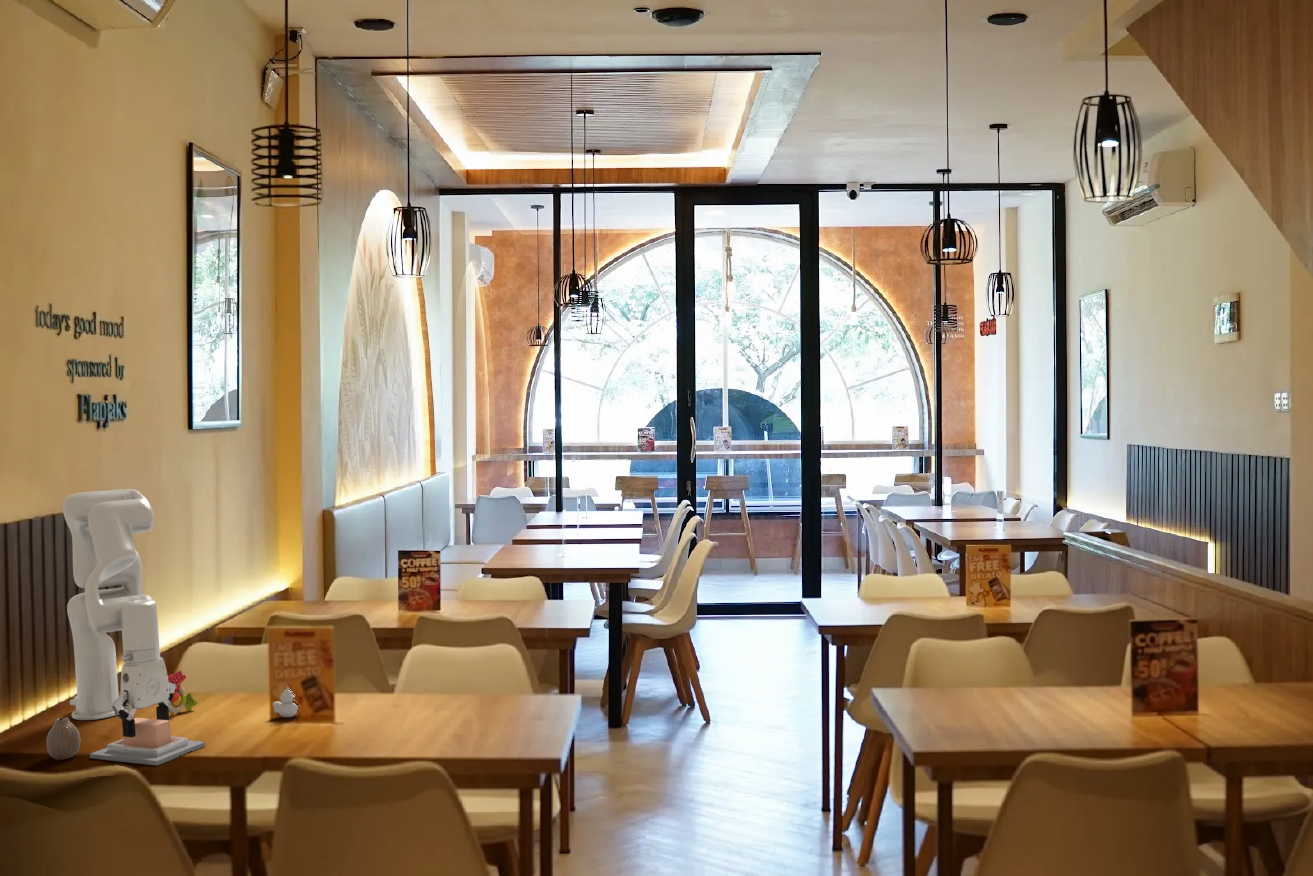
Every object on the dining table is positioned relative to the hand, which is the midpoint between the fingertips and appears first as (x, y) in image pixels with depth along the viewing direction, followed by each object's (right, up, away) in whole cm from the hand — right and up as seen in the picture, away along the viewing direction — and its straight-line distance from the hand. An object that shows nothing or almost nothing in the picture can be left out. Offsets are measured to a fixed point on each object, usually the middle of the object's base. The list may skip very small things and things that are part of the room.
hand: (146, 730), depth 265 cm
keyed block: (0, -4, 0) cm, 4 cm away
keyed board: (0, -5, 0) cm, 5 cm away
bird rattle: (-6, -4, +33) cm, 34 cm away
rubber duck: (+24, -3, +25) cm, 35 cm away
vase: (-18, -6, 0) cm, 19 cm away
